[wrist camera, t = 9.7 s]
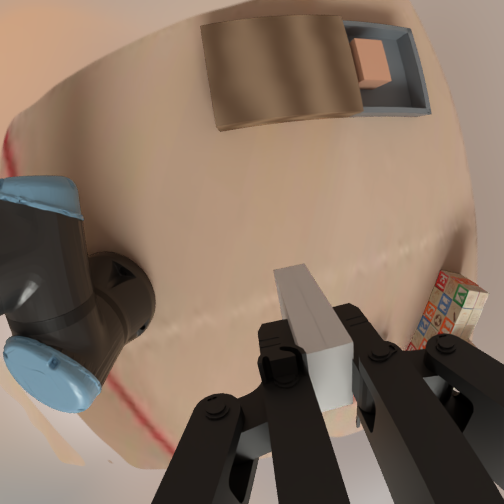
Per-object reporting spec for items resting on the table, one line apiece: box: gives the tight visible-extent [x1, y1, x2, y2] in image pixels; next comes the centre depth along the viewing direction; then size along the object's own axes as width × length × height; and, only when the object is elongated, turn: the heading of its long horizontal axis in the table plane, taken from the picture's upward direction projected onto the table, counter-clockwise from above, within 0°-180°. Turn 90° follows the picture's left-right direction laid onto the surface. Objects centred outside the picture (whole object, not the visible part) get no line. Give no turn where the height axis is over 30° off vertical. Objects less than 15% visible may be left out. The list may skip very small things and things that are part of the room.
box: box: [343, 20, 431, 117], centre depth 32 cm, size 12×14×4 cm
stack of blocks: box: [406, 270, 489, 390], centre depth 42 cm, size 21×6×12 cm, turn 169°
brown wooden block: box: [200, 15, 364, 132], centre depth 32 cm, size 18×14×6 cm
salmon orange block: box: [349, 38, 392, 90], centre depth 31 cm, size 6×6×4 cm
